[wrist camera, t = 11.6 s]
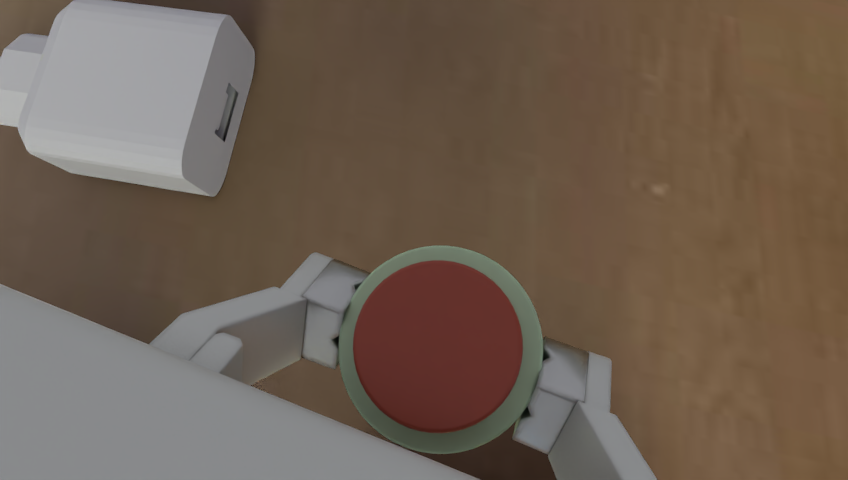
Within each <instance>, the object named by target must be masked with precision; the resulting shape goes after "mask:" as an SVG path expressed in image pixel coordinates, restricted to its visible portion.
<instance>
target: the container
mask: <svg viewBox="0 0 848 480" xmlns="http://www.w3.org/2000/svg"><path fill="white" fill-rule="evenodd" d="M338 353H339V365H340V370H341V374H342V379H343V382H344V384H345V387H346V390H347V392H348V394H349V396H350V398H351V400H352V402H353V404H354V405H355V407H356V408H357V410H358V411H359V413H360V414H361V415H362V417H363V418H364V419H365V420H366V421H367V422H368V423H369V424H370V425H371V426H372V427H373V428H374V429H375V430H377V431H378V432H379V433H380V434H381V435H383V436H385V437H386V438H388V439H389V440H391V441H392V442H394V443H397V444H399V445H401V446H403V447H405V448H409V449H412V450H415V451H418V452H425V453H431V454H450V453H459V452H463V451H467V450H471V449H474V448H477V447H479V446H481V445H484V444H486V443H488V442H490V441H491V440H493V439H495V438H496V437H498V436H499V435H501V434H502V433H503V432H504V431H506V430H507V429H508V428H509V427H510V426H511V425H512V424H513V423H514V422H515V421H516V420H517V419H518V418H519V417H520V415H521V414H522V413H523V411H524V410H525V409H526V407H527V406H528V404H529V402H530V400H531V396H532V393H533V390H534V387H535V384H536V381H537V378H538V375H539V372H540V370H541V369H542V361H543V338H542V332H541V326H540V323H539V319H538V316H537V313H536V311H535V308H534V306H533V304H532V302H531V300H530V298H529V297H528V295H527V293H526V292H525V290H524V289H523V287H522V286H521V285H520V284H519V282H518V281H517V280H516V279H515V278H514V277H513V276H512V275H511V274H510V273H509V272H508V271H507V270H506V269H505V268H503V267H502V266H501V265H499V264H498V263H496V262H495V261H493V260H491V259H490V258H488V257H486V256H484V255H482V254H479V253H477V252H474V251H472V250H468V249H464V248H460V247H453V246H427V247H420V248H417V249H413V250H409V251H406V252H404V253H401V254H399V255H397V256H395V257H393V258H391V259H389V260H388V261H386V262H384V263H383V264H382V265H380V266H379V267H378V268H376V269H375V270H374V271H373V272H372V273H371V274H370V275H369V276H368V277H367V278H366V279H365V280H364V281H363V282H362V284H361V285H360V286H359V287H358V289H357V290H356V292H355V294H354V295H353V297H352V299H351V302H350V305H349V307H348V310H347V312H346V315H345V318H344V320H343V323H342V326H341V329H340V335H339V348H338Z"/></svg>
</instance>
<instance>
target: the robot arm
mask: <svg viewBox="0 0 848 480" xmlns="http://www.w3.org/2000/svg"><path fill="white" fill-rule="evenodd" d="M370 274H371V273H370V272H367V271H364V270H362V269H359V268H357V267H354V266H352V265H349V264H346V263H344V262H341V261H339V260H336V259H333V258H330V257H327V256H325V255H322V254H320V253H317V252H315V253H312V254H310V255H309V257H308V258H307V259H306V260H305V261H304V262H303V263H302V264H301V265H300V267H299V268H298V269H297V270H296V271H295V272H294V273H293V274H292V276H291V277H290V278H289V279H288V280H287V281H286V282H285V283H284V284H283V286H282V287H281V288H277V287H271V288H268V289H264V290H261V291H258V292H254V293H251V294H247V295H244V296H241V297H237V298H234V299H230V300H227V301H224V302H220V303H217V304H213V305H210V306H207V307H203V308H200V309H196V310H193V311H190V312H186V313H183V314H181V315H180V316H179V317H178V318H177V319H175V320H174V321H173V322H172V323H171V324H170V325H169V326H168V327H167V328H166V329H165V330H164V331H163V332H161V333H160V334H159V335H158V336H157V337H156V338H155V339H154V340H153V341H152V342H151V343H150V344H146V343H144V342H141V341H139V340H136V339H134V338H132V337H129V336H127V335H124V334H122V333H119V332H117V331H114V330H112V329H110V328H107V327H105V326H102V325H100V324H97V323H95V322H92V321H90V320H87V319H85V318H83V317H80V316H78V315H75V314H73V313H70V312H68V311H65V310H63V309H60V308H58V307H56V306H53V305H51V304H48V303H46V302H43V301H41V300H38V299H36V298H34V297H31V296H29V295H26V294H24V293H21V292H19V291H16V290H14V289H11V288H9V287H7V286H4V285H2V284H0V480H480V479H478V478H475V477H473V476H471V475H468V474H466V473H463V472H461V471H458V470H456V469H453V468H451V467H449V466H446V465H444V464H441V463H439V462H436V461H434V460H431V459H429V458H427V457H424V456H422V455H419V454H417V453H414V452H412V451H409V450H407V449H404V448H402V447H399V446H397V445H395V444H392V443H390V442H387V441H385V440H382V439H380V438H377V437H375V436H372V435H370V434H367V433H365V432H363V431H360V430H358V429H355V428H353V427H350V426H348V425H345V424H343V423H340V422H338V421H335V420H333V419H331V418H328V417H326V416H323V415H321V414H318V413H316V412H313V411H311V410H308V409H306V408H303V407H301V406H299V405H296V404H294V403H291V402H289V401H286V400H284V399H281V398H279V397H276V396H274V395H272V394H269V393H267V392H264V391H262V390H259V389H257V388H254V387H252V386H250V385H252V384H254V383H256V382H258V381H260V380H262V379H263V378H265V377H267V376H269V375H271V374H273V373H275V372H277V371H279V370H281V369H283V368H285V367H287V366H289V365H291V364H292V363H294V362H296V361H298V360H300V359H301V357H302V358H304V359H307V360H310V361H313V362H315V363H318V364H321V365H324V366H326V367H329V368H332V369H335V368H336V367H337V365H338V363H339V353H338V348H339V335H340V329H341V326H342V323H343V320H344V318H345V315H346V312H347V310H348V307H349V305H350V302H351V299H352V297H353V295H354V294H355V292H356V290H357V289H358V287H359V286H360V285H361V284H362V282H363V281H364V280H365V279H366V278H367V277H368V276H369V275H370ZM611 372H612V361H611V360H610V358H607V357H604V356H601V355H598V354H595V353H592V352H589V351H588V352H587V351H585V350H582V349H579V348H576V347H573V346H571V345H568V344H565V343H562V342H559V341H557V340H554V339H551V338H548V337H544V339H543V361H542V369H541V370H540V372H539V375H538V378H537V381H536V384H535V387H534V390H533V393H532V396H531V400H530V402H529V404H528V406H527V407H526V409H525V410H524V411H523V413H522V414H521V415H520V417H519V418H518V419H517V420H516V422H515V427H514V432H513V436H512V439H513V440H515V441H517V442H520V443H522V444H524V445H527V446H529V447H532V448H534V449H536V450H539V451H541V452H543V453H546V454H548V458H549V461H550V463H551V466H552V469H553V471H554V474H555V476H556V479H557V480H657V478H656V477H655V475H654V474H653V472H652V470H651V469H650V467H649V466H648V464H647V463H646V461H645V459H644V458H643V456H642V455H641V453H640V452H639V450H638V448H637V447H636V445H635V444H634V442H633V441H632V439H631V437H630V436H629V434H628V433H627V431H626V430H625V428H624V426H623V425H622V423H621V422H620V420H619V419H618V417H617V415H614V414H612V413H610V400H611Z"/></svg>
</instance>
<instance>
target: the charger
mask: <svg viewBox="0 0 848 480" xmlns="http://www.w3.org/2000/svg"><path fill="white" fill-rule="evenodd" d="M254 65H255V52H254V49H253V47H252V45H251V44H250V42H249V41H248V40H247V38H246V37H245V35H244V34H243V32H242V31H241V29H240V28H239V27H238V25H237V24H236V22H235V21H234V19H233V18H232V17H231V16H230V15H224V14H216V13H208V12H200V11H192V10H184V9H176V8H168V7H160V6H151V5H143V4H135V3H127V2H119V1H111V0H73V1H72V2H71V3H70V4H69V5H68V6H66V7H65V8H64V9H63V10H62V11H60V12H59V13H58V14H57V16H56V18H55V20H54V22H53V25H52V28H51V31H50V34H49V36H44V35H37V34H29V33H28V34H22V35H20V36H19V37H18V38H17V39H15V40H14V41H13V42H12V43H11V44H9V45H8V46H7V47H6V48H5V49H4V51H3V53H2V56H1V57H0V124H1V125H7V126H14V127H18V131H19V134H20V136H21V138H22V140H23V143H24V145H25V147H26V149H27V151H28V152H29V153H30V154H32V155H34V156H36V157H38V158H40V159H42V160H44V161H46V162H49V163H51V164H53V165H55V166H57V167H59V168H61V169H63V170H65V171H67V172H69V173H73V174H79V175H85V176H91V177H97V178H103V179H109V180H115V181H121V182H127V183H133V184H139V185H145V186H151V187H157V188H163V189H169V190H175V191H181V192H187V193H193V194H199V195H205V196H211V197H215V196H216V195H217V194H218V192H219V190H220V189H221V187H222V184H223V182H224V179H225V176H226V173H227V169H228V165H229V162H230V158H231V154H232V151H233V147H234V143H235V140H236V136H237V133H238V129H239V125H240V122H241V118H242V114H243V111H244V107H245V103H246V100H247V96H248V92H249V89H250V85H251V81H252V77H253V72H254Z"/></svg>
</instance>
